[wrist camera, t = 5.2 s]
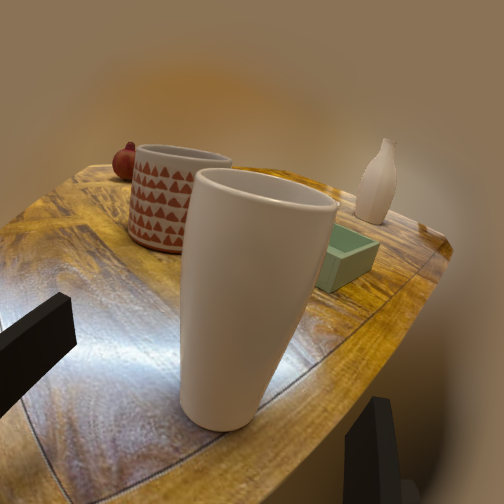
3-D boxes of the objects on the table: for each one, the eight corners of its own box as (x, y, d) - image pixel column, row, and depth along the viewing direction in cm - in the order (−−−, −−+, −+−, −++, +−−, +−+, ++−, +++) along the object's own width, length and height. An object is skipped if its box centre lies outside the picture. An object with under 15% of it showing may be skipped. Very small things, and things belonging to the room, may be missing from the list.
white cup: (282, 428, 18) (370, 214, 13) (187, 454, 15) (228, 199, 10) (240, 365, 24) (288, 176, 18) (157, 377, 20) (177, 162, 15)
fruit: (118, 175, 76) (123, 139, 73) (145, 180, 77) (150, 143, 73) (105, 181, 69) (109, 141, 65) (133, 185, 69) (139, 144, 66)
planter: (219, 260, 41) (238, 165, 36) (118, 247, 38) (126, 149, 33) (214, 226, 54) (228, 153, 49) (136, 216, 50) (146, 142, 46)
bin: (370, 269, 50) (380, 242, 49) (329, 293, 39) (341, 258, 37) (299, 235, 59) (305, 210, 57) (243, 246, 48) (249, 215, 46)
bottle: (343, 212, 92) (365, 132, 82) (365, 214, 97) (385, 141, 88) (370, 225, 83) (394, 139, 74) (391, 227, 89) (413, 148, 79)
